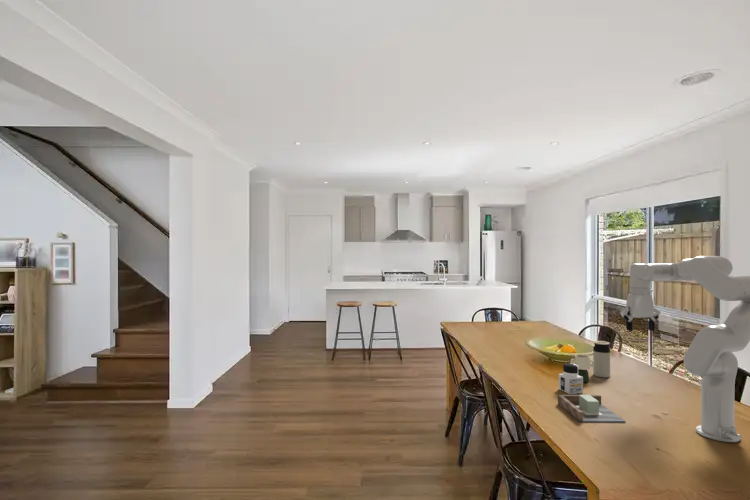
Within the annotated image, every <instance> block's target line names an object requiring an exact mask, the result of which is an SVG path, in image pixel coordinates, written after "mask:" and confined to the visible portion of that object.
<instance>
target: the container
mask: <svg viewBox="0 0 750 500" xmlns="http://www.w3.org/2000/svg"><path fill="white" fill-rule="evenodd" d="M562 368H563V371H562V372H563V373H558V390H559V389H560V390H559V391H561V390H562V391H561V392H563V391H564V393H565V392H566V394H567V395H578V394H577V393H579V394H584V382H583V377H582V376H579V375H578V366H577V365H576V364H572V363H571V362H569V363H567V362H566V363H564V364H563V366H562Z"/></svg>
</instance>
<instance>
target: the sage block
mask: <svg viewBox="0 0 750 500" xmlns="http://www.w3.org/2000/svg"><path fill="white" fill-rule="evenodd" d="M578 395H579V407H580V408H581V409H583V410H584V411H585V412H586V413H588V414H599V401H598V400H596V399H595V398H593V397H592V396H591V395H592V394H578Z"/></svg>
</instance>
